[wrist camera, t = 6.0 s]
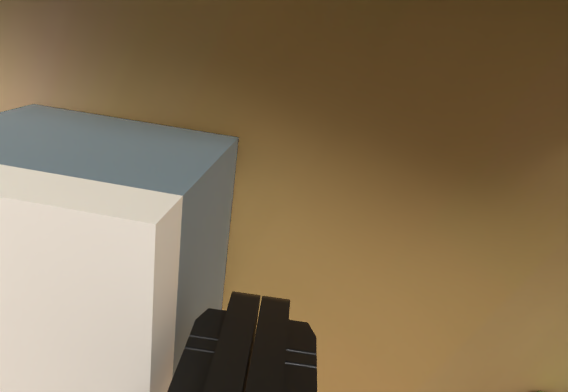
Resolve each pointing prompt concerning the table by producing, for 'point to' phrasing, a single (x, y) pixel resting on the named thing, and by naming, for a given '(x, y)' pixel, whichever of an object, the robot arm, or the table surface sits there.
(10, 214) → the block
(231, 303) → the robot arm
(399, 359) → the table surface
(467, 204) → the table surface
